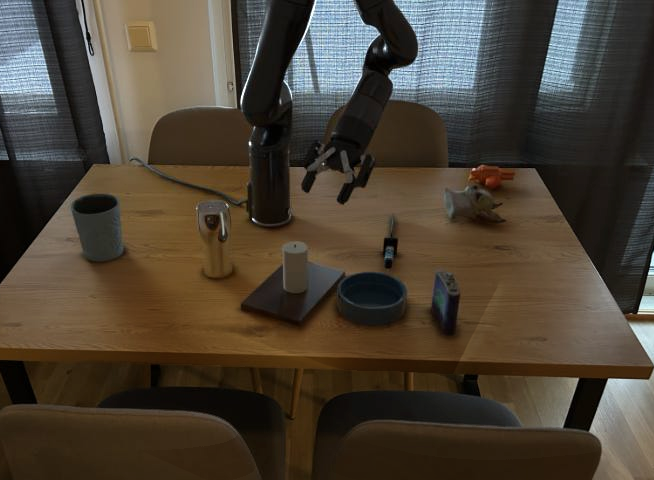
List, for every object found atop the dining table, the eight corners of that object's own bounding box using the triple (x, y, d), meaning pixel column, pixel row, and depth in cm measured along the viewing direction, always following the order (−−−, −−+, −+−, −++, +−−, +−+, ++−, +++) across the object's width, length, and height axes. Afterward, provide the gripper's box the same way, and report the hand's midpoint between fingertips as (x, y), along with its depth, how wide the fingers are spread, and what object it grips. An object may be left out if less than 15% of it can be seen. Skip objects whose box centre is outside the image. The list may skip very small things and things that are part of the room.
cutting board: (240, 309, 124) (240, 303, 123) (290, 262, 139) (290, 256, 138) (300, 327, 119) (300, 321, 118) (345, 277, 134) (345, 271, 133)
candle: (279, 289, 127) (277, 247, 122) (290, 278, 131) (290, 236, 125) (300, 295, 125) (300, 253, 120) (311, 284, 129) (311, 242, 124)
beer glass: (239, 265, 138) (235, 201, 130) (226, 281, 133) (220, 216, 124) (210, 260, 140) (204, 197, 131) (196, 276, 134) (188, 211, 126)
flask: (428, 308, 124) (434, 261, 118) (443, 307, 124) (450, 259, 118) (443, 337, 117) (451, 288, 110) (459, 336, 117) (467, 286, 111)
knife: (390, 279, 130) (393, 259, 128) (376, 278, 131) (377, 258, 129) (403, 226, 157) (405, 209, 155) (391, 225, 157) (392, 207, 155)
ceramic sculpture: (445, 173, 156) (508, 180, 155) (439, 205, 161) (499, 212, 160) (446, 191, 148) (512, 199, 146) (439, 225, 153) (503, 232, 151)
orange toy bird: (514, 161, 171) (468, 160, 171) (519, 180, 166) (472, 179, 166) (509, 175, 175) (465, 175, 175) (514, 194, 170) (468, 194, 170)
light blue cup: (98, 238, 148) (88, 190, 142) (136, 245, 146) (128, 196, 139) (71, 259, 141) (60, 209, 134) (111, 267, 138) (101, 216, 131)
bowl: (325, 315, 123) (326, 297, 120) (353, 282, 132) (354, 265, 130) (390, 334, 117) (392, 316, 115) (414, 298, 127) (416, 281, 125)
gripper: (320, 106, 126) (284, 179, 125) (382, 121, 119) (344, 198, 118) (335, 125, 133) (301, 195, 132) (394, 140, 125) (359, 214, 124)
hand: (321, 197), depth 125 cm, fingers open, 8 cm apart
